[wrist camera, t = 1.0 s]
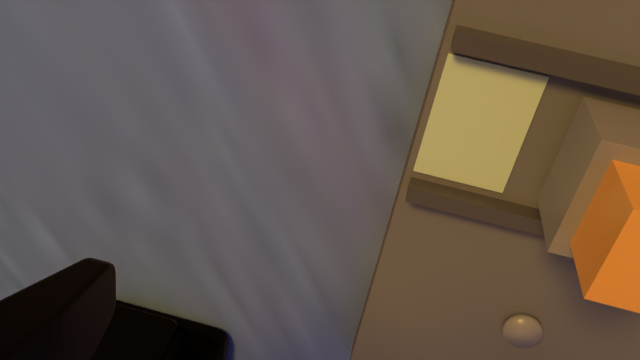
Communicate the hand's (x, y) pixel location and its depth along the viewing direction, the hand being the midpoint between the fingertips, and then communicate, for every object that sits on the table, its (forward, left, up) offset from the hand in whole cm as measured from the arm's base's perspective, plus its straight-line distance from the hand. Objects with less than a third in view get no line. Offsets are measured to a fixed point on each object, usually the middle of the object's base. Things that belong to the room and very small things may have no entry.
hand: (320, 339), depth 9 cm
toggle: (0, -6, -9) cm, 11 cm away
